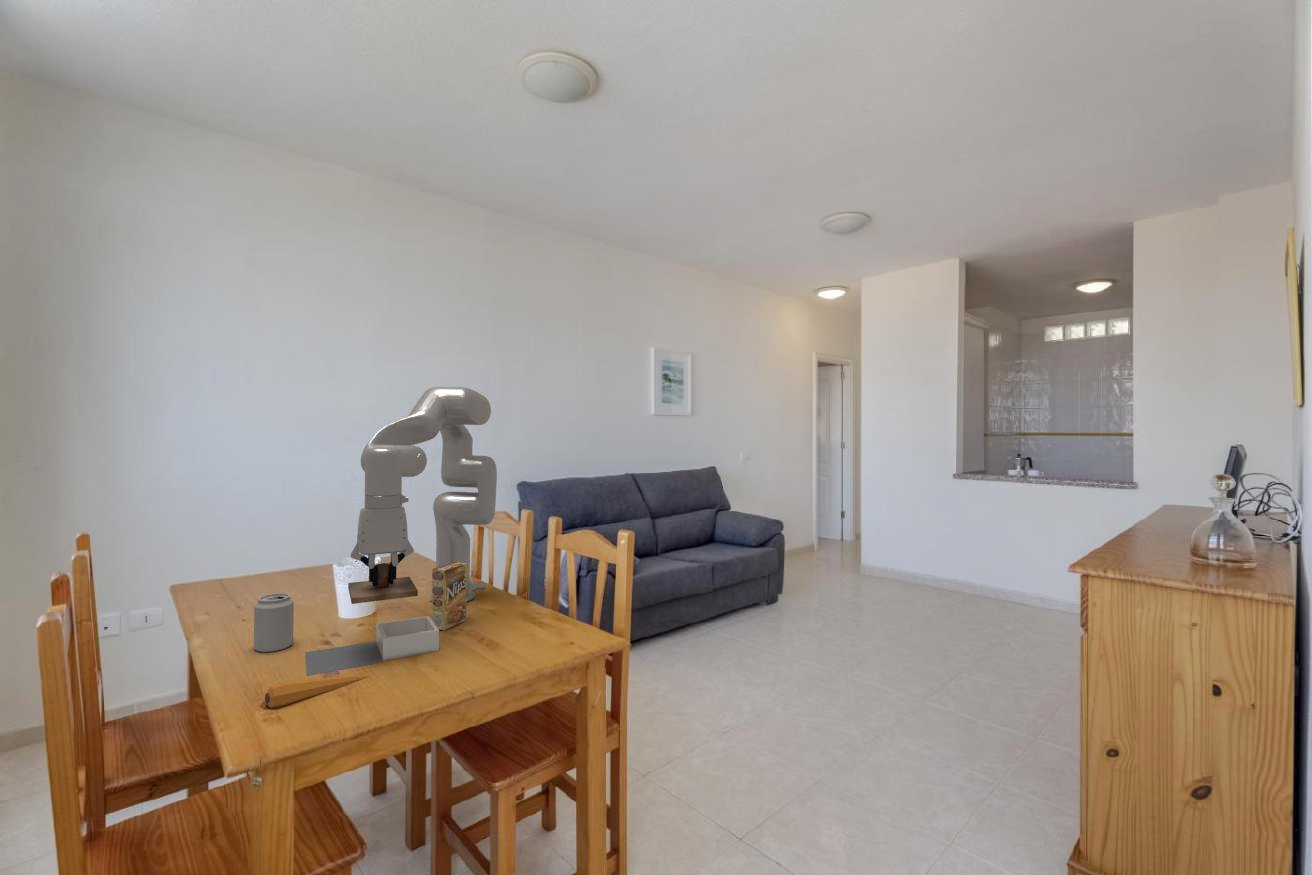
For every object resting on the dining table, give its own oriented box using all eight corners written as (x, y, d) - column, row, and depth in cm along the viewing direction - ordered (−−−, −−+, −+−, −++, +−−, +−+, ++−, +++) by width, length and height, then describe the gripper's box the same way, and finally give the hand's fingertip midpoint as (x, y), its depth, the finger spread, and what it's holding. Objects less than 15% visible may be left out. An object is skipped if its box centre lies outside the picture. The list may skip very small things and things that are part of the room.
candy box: (444, 631, 147) (445, 570, 147) (430, 629, 149) (431, 568, 148) (467, 620, 155) (468, 562, 155) (453, 618, 157) (454, 561, 157)
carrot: (267, 717, 105) (273, 696, 104) (260, 700, 107) (266, 679, 107) (378, 691, 120) (385, 673, 119) (370, 676, 123) (376, 658, 122)
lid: (409, 581, 142) (409, 555, 141) (417, 595, 130) (418, 568, 130) (348, 588, 135) (348, 561, 135) (351, 604, 124) (351, 574, 124)
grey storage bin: (428, 636, 144) (428, 615, 143) (438, 652, 134) (439, 630, 134) (376, 644, 137) (376, 623, 137) (382, 662, 128) (383, 639, 127)
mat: (374, 643, 138) (374, 641, 138) (382, 664, 126) (382, 662, 126) (305, 653, 131) (305, 652, 131) (306, 677, 119) (306, 675, 119)
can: (301, 645, 136) (301, 593, 136) (270, 656, 129) (270, 602, 129) (277, 640, 139) (277, 589, 138) (245, 651, 131) (246, 598, 131)
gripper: (419, 498, 139) (418, 575, 140) (341, 502, 131) (340, 584, 132) (424, 502, 133) (423, 583, 134) (342, 506, 125) (342, 592, 125)
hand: (382, 583), depth 133 cm, fingers closed on lid, 2 cm apart
